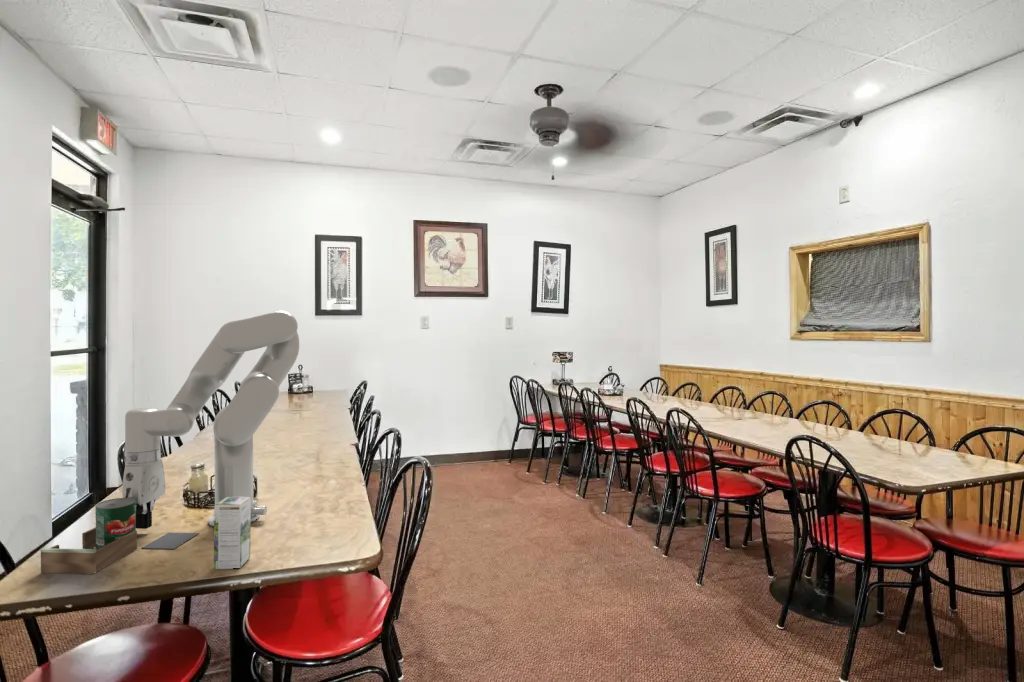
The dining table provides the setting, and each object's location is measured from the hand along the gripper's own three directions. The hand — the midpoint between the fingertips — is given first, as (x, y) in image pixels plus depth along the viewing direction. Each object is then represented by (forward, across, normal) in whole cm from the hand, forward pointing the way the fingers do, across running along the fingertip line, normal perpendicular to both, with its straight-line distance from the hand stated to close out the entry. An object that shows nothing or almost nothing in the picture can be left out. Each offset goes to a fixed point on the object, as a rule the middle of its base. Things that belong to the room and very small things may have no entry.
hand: (143, 527), depth 142 cm
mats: (+1, -9, -3) cm, 10 cm away
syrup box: (+2, -17, -33) cm, 37 cm away
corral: (+2, -12, 0) cm, 13 cm away
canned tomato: (+2, -10, 0) cm, 10 cm away
